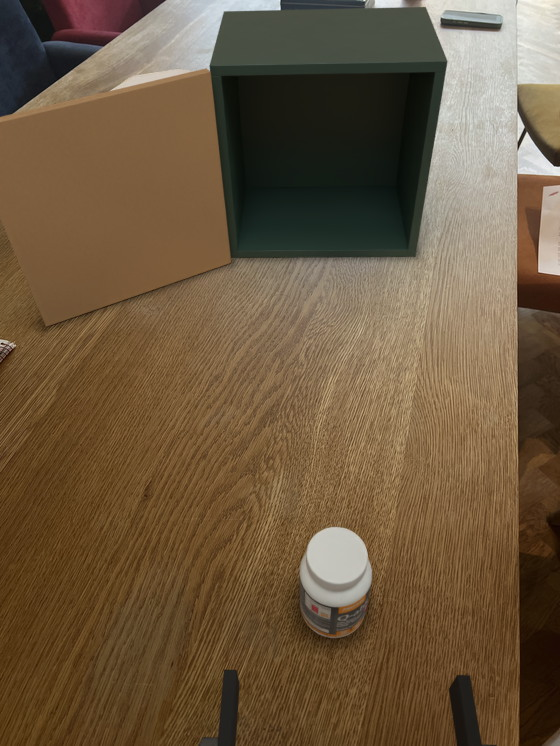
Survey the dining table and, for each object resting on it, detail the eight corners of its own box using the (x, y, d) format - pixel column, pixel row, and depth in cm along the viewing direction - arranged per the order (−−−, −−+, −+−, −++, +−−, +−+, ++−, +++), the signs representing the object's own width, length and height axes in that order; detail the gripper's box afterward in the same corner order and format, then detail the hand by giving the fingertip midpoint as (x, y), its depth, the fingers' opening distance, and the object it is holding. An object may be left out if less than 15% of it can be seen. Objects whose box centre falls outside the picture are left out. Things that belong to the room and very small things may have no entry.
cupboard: (415, 256, 87) (447, 60, 67) (230, 257, 88) (209, 65, 68) (401, 189, 99) (426, 6, 79) (239, 190, 100) (223, 11, 81)
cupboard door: (33, 296, 83) (-48, 104, 64) (211, 237, 91) (186, 51, 72) (46, 327, 79) (-38, 130, 60) (231, 262, 87) (210, 71, 68)
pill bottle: (348, 653, 51) (355, 605, 43) (288, 619, 53) (285, 568, 45) (376, 594, 54) (387, 541, 47) (318, 564, 56) (320, 509, 49)
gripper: (62, 1246, 26) (150, 693, 40) (672, 1280, 25) (537, 702, 39) (-3, 1330, 20) (126, 653, 34) (780, 1378, 19) (576, 663, 34)
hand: (344, 678), depth 37 cm, fingers open, 13 cm apart
